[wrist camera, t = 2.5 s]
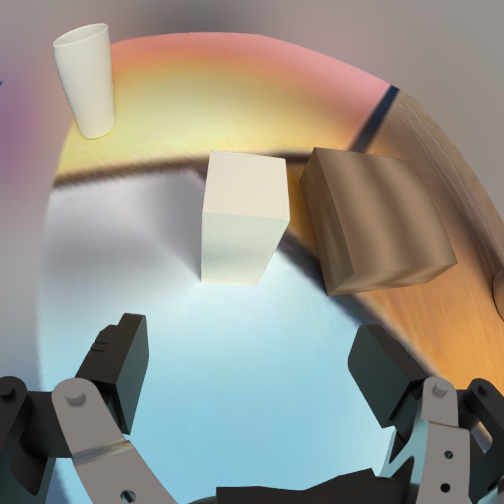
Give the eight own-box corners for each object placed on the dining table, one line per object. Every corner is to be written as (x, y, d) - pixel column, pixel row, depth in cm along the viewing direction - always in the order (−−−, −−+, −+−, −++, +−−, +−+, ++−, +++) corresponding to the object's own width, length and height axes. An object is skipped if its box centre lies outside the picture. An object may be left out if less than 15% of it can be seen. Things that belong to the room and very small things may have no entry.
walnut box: (390, 189, 36) (412, 161, 31) (425, 284, 30) (457, 263, 25) (298, 183, 33) (314, 147, 28) (325, 297, 27) (354, 273, 22)
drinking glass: (101, 110, 34) (87, 22, 21) (131, 121, 34) (121, 23, 20) (67, 136, 31) (42, 45, 18) (96, 151, 30) (71, 47, 17)
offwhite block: (256, 238, 28) (285, 158, 19) (256, 286, 26) (290, 220, 16) (205, 233, 28) (210, 150, 18) (201, 282, 25) (202, 211, 16)
